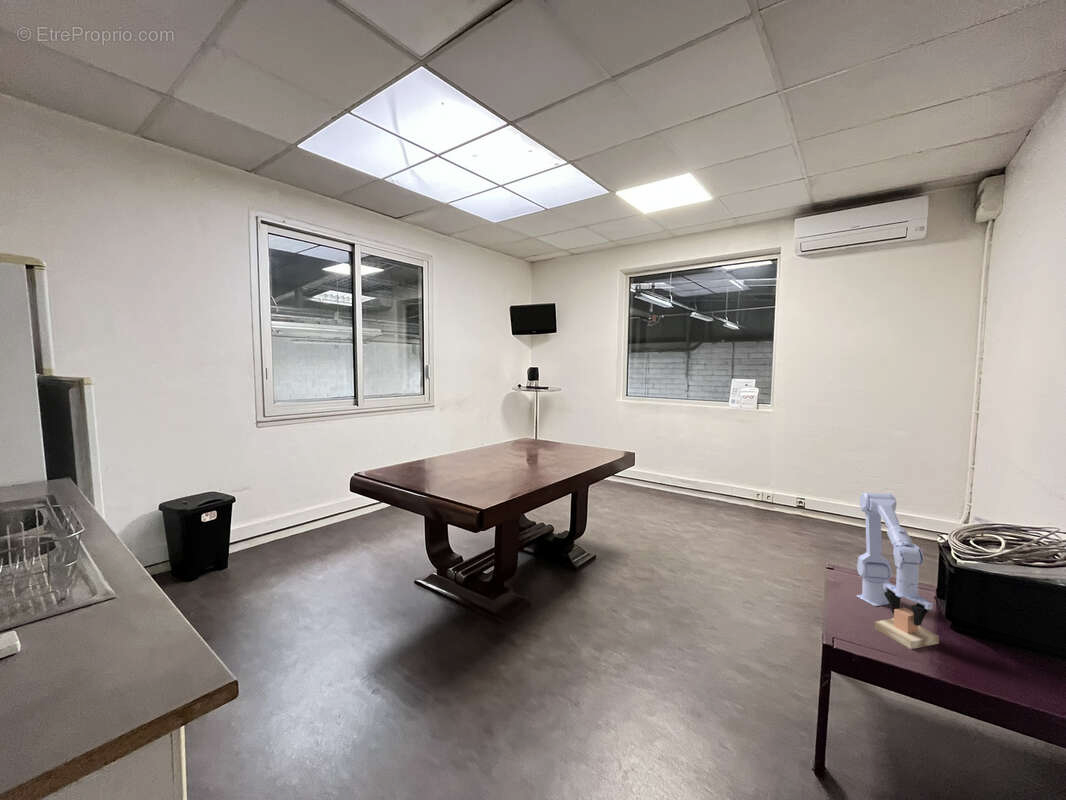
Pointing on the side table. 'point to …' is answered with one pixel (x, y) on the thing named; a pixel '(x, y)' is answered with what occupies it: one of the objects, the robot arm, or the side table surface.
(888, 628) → the birch base
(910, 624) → the terracotta block
